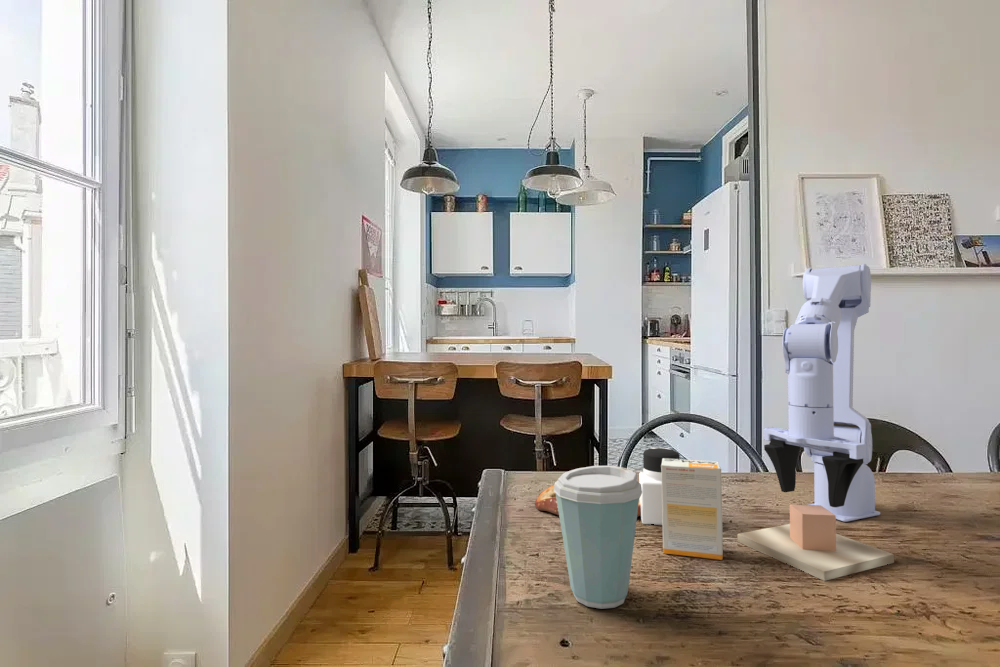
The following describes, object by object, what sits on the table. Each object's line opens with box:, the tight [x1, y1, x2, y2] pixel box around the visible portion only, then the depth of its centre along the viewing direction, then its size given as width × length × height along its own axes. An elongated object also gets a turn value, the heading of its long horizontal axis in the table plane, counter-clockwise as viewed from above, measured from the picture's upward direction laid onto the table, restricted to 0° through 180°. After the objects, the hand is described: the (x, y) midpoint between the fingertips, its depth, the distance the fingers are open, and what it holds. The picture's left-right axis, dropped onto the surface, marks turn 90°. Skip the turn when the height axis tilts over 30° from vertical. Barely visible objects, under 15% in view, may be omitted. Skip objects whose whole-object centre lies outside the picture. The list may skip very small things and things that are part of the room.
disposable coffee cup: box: [553, 465, 642, 610], centre depth 64 cm, size 11×11×15 cm
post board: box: [737, 523, 895, 582], centre depth 76 cm, size 14×14×4 cm
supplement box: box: [661, 458, 724, 561], centre depth 77 cm, size 8×5×13 cm, turn 71°
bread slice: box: [534, 484, 641, 518], centre depth 96 cm, size 18×18×4 cm
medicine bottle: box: [638, 447, 681, 526], centre depth 91 cm, size 7×7×12 cm
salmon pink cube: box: [789, 503, 837, 551], centre depth 76 cm, size 4×4×5 cm
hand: (811, 498), depth 76 cm, fingers open, 7 cm apart
